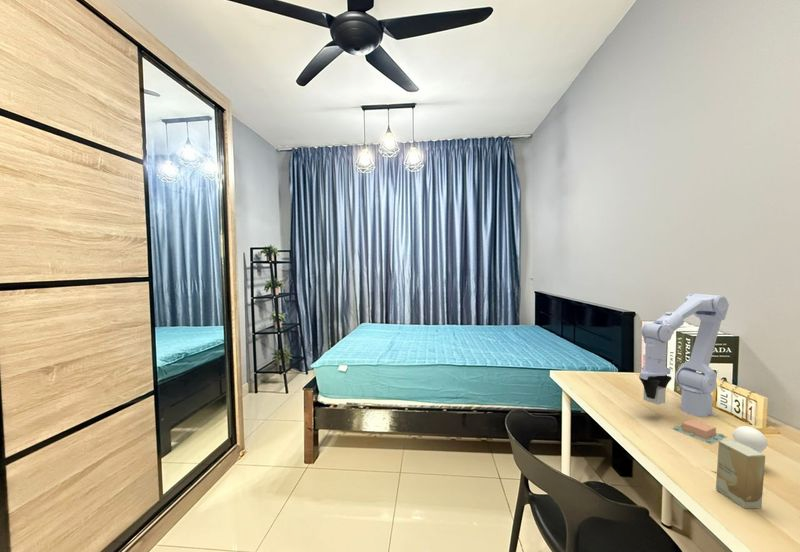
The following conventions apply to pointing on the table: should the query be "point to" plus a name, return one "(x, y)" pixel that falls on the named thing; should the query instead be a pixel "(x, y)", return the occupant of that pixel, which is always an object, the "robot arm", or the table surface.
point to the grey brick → (657, 396)
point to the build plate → (709, 440)
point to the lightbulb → (750, 438)
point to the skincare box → (740, 473)
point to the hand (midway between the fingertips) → (654, 396)
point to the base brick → (699, 429)
